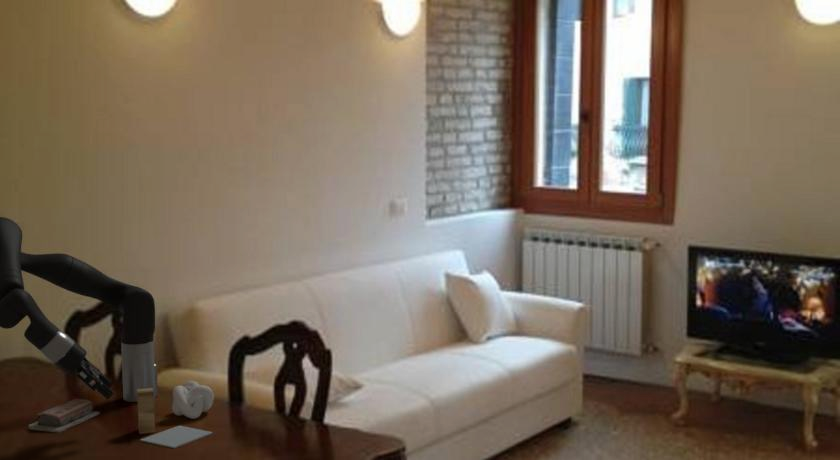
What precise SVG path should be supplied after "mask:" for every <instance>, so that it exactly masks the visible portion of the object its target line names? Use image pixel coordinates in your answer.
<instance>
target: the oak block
mask: <svg viewBox="0 0 840 460" xmlns="http://www.w3.org/2000/svg"><path fill="white" fill-rule="evenodd" d="M137 401H138V402H137V421H138V425H137V426H138V434H140V435H143V434H152V433H153V434H154V433H156V423H155V422H156V421H155V417H156V416H155V398H154V391H153V388H148V389H137Z"/></svg>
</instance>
